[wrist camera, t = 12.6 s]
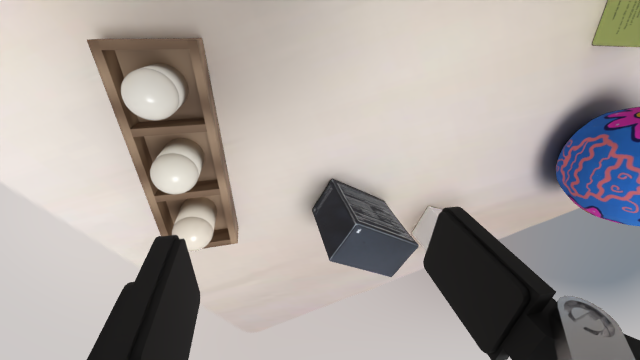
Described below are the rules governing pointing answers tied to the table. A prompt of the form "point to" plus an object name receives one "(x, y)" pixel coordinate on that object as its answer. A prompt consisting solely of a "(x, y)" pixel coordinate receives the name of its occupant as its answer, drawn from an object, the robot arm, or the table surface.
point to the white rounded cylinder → (154, 91)
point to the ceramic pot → (604, 167)
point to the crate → (171, 126)
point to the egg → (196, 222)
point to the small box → (361, 230)
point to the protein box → (619, 24)
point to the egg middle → (177, 166)
